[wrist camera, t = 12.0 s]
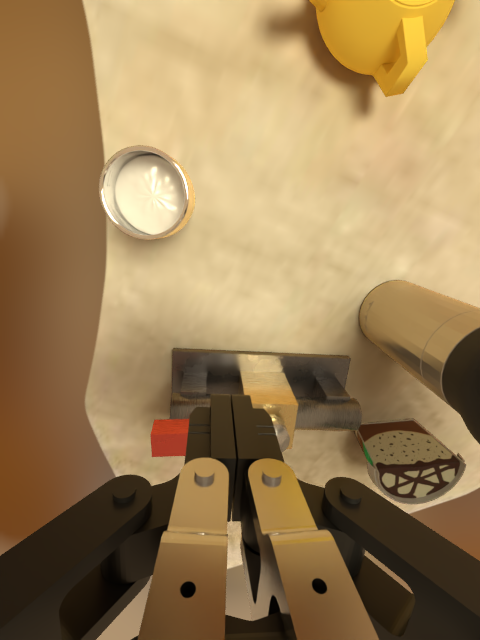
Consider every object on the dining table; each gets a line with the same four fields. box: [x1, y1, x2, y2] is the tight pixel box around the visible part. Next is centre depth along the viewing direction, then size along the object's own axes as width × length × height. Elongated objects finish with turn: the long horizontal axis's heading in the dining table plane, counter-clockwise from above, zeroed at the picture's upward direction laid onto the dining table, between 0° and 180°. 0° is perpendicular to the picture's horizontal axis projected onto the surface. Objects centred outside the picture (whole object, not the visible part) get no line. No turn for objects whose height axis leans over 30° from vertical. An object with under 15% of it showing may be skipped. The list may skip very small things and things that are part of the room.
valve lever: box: [151, 414, 290, 457], centre depth 37 cm, size 15×4×3 cm, turn 89°
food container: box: [354, 419, 466, 504], centre depth 48 cm, size 12×6×10 cm, turn 93°
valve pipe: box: [170, 348, 362, 449], centre depth 44 cm, size 24×11×9 cm, turn 85°
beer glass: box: [99, 145, 195, 240], centre depth 32 cm, size 7×7×15 cm
